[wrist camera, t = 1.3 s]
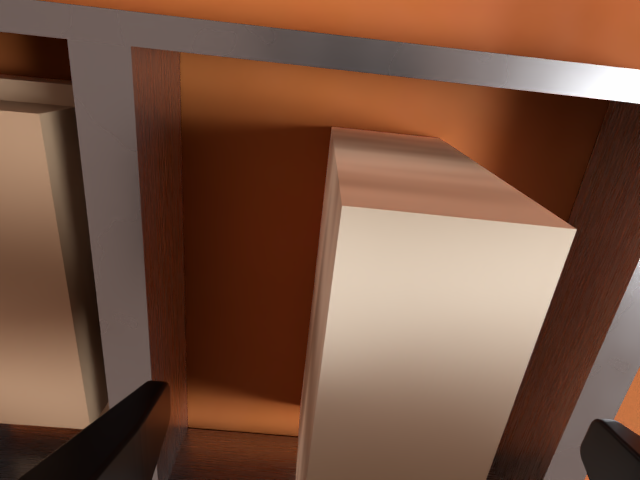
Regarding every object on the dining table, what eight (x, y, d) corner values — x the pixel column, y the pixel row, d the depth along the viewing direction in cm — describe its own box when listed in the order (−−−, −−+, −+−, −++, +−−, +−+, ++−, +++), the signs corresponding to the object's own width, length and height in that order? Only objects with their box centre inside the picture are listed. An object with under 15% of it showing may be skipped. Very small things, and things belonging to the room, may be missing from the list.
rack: (512, 466, 17) (550, 547, 14) (-23, 422, 16) (-95, 499, 13) (664, 79, 11) (777, 85, 8) (-142, -13, 10) (-311, -40, 8)
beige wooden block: (381, 411, 16) (422, 655, 9) (300, 404, 16) (284, 646, 9) (438, 137, 12) (576, 228, 5) (331, 126, 12) (341, 205, 5)
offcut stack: (141, 395, 16) (103, 466, 13) (32, 387, 16) (-29, 457, 13) (111, 83, 12) (44, 89, 9) (-38, 69, 12) (-153, 72, 9)
